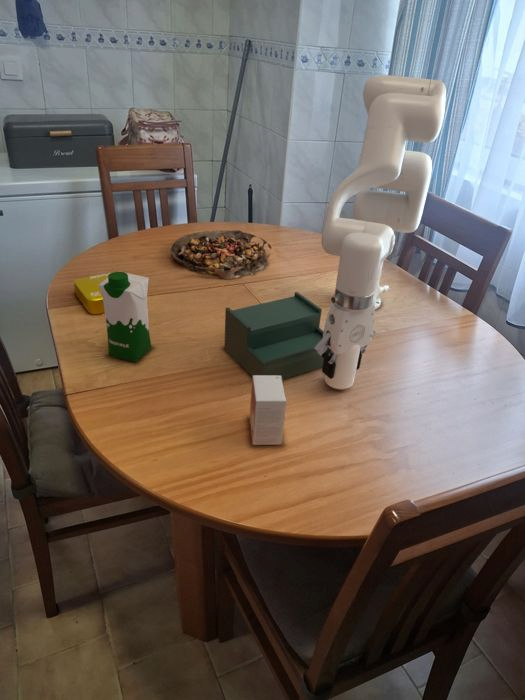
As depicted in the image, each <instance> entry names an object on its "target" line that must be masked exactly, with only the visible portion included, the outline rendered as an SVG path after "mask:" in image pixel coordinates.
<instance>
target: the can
mask: <svg viewBox="0 0 525 700" xmlns="http://www.w3.org/2000/svg"><path fill="white" fill-rule="evenodd" d="M359 353H360V346H359V345H354V346H352V347H351V348H350V349H349V351H348V352H346V353H343V354H339V355H337V357H336V359H335V361H334V362H335V363H336V366H335V372H334V377H333V378H332V379H330V378H329V377H328V376H326V375H325V374H324V382H325V383H326V385H327V386H329V387H330V388H332V389H334V390H338V391H339V390H341V391H343V390H348V389H349V388H351V387H353V385H354V382H355V378H356V375H357V374H356V373H357V370H356V369H357V364H358V358H359ZM331 354H332V350H330V352H329V354H328V355H329V356H331Z"/></svg>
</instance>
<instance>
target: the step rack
mask: <svg viewBox="0 0 525 700" xmlns="http://www.w3.org/2000/svg"><path fill="white" fill-rule="evenodd" d="M224 313H225V314H224V315H225V316H224V347H223V348H224V350H225V351H226V352H227V353H228V354H229V355H230V356H231V357H232V358H233V359H234V361H236V362H237V363H238V364H239V365H240V366H241V368H242V369H244V370H245V372H247V373H248V374H249V376H250V377H252V376H253V375H276V376H282V381H284V380H288V379H290V378H293V377H296V376H299V375H302V374H305V373H309V372H312V371H315V370H318V369H321V368H323V362H324V358H322V357H321V356H320V355H319V354H318V353H317V352H316V351H315V350H314V348H315V346H316V345H317V344H318V343H319V342H320V341H321V340H322V338H323V332H324V329H322V328H320V326H321V325H320V324H321V318H322V317H321V316H322V308H321V307H320V306H318V305H317V304H315V303H314V302H312V301H311V300H309V299H308V298H306V296H304V295H302V294H301V293H299V292H298V291H296V292H294V296H289V297H284V298H280V299H276V300H271V301H267V302H263V303H258V304H254V305H249V306H245V307H241V308H236V309H231V308H230V307H225V311H224ZM324 350H325V349H324Z"/></svg>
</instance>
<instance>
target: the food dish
mask: <svg viewBox="0 0 525 700" xmlns="http://www.w3.org/2000/svg"><path fill="white" fill-rule="evenodd" d="M253 238H258V239H260V240H261V241H262V245H261V243H260V242H257V243H256V242H254V241H252V239H253ZM266 244H267V246H268V248H269V249H270V250H272V249H273V247H272V245H271V244H270V243H268V242H267V240H266V239H264V238H263V237H262V238H261V237H260V236H259V237H257V235H255V234H252V233H250V232H244V231H242V230H239V229H238V230H237V229H233V230H232V229H231V230H226V229H225V230H221V229H219V230H205V231H198V232H193V233H190V234H185V235H183V236H180V237H179V238H178V239H176V240H175V241H174V242H173V243H172V244H171V246H170V247H169V251H170V255H171V256H172V257H173V259H175V261H176V262H177V263H178V264H180V265H182V266H183V267H185V268H187V269H189V270H190V271H192V272H195V273H200V274H202V275H211V276H216V277H217V276H218V277H220V278H221V279H224V280H233V279H237V278H240V277H242V276H247V275H254V273H255V272H257V271H262V270H263V269H264V267H265V266H267V262H268V259H269V257H270V256H271V253H269V254H268V255H267V256H265V253H266V250H265V248H264V247H265V245H266Z"/></svg>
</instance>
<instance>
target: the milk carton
mask: <svg viewBox="0 0 525 700" xmlns="http://www.w3.org/2000/svg"><path fill="white" fill-rule="evenodd" d="M112 272H113V273H110V272H109V273H110V274H109V275H108V278H107V279H106V280H104V281H103V282H101V283H100V284H99V288H100V291H101V294H102V297H103V302H104V310H105V313H104V318H105V325H106V326H105V327H106V335H107V348H108V356H109V357H113V358H117V359H121V360H124V361H127V362H131V363H137V362H138V361H139V360H140V359H141V358H142V357H143V356H144V355H145V354H147V352H149V350H150V349H152V342H151V336H150V335H151V334H150V323H149V308H148V290H149V289H148V288H149V280H150V279H149V277H147V276H142V275H137V274H134V273H129V272H127V273H124V272H116V271H112Z"/></svg>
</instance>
